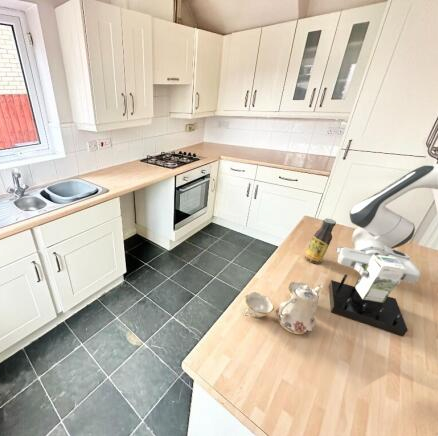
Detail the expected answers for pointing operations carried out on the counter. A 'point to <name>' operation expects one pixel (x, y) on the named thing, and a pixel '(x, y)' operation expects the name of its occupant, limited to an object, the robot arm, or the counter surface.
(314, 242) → the sauce bottle
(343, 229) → the counter surface
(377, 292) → the syrup box
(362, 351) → the counter surface
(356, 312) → the dish rack
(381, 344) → the counter surface
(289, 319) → the chinaware
